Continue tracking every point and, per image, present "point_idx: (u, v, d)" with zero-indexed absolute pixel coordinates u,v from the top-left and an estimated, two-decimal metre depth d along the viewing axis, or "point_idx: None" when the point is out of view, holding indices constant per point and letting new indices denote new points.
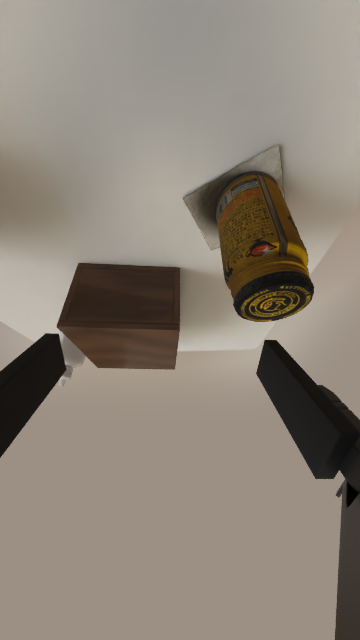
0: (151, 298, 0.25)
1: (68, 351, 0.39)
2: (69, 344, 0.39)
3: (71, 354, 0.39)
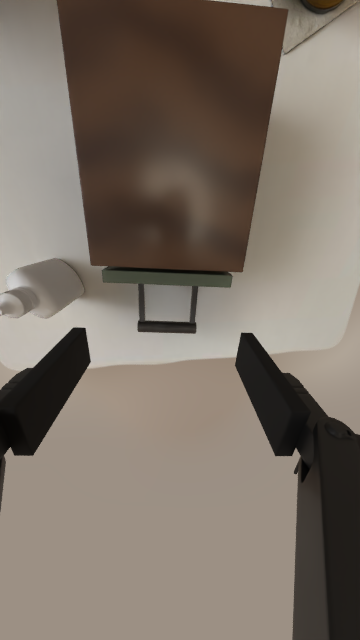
0: None
1: (39, 273, 0.21)
2: (46, 269, 0.23)
3: (44, 279, 0.21)
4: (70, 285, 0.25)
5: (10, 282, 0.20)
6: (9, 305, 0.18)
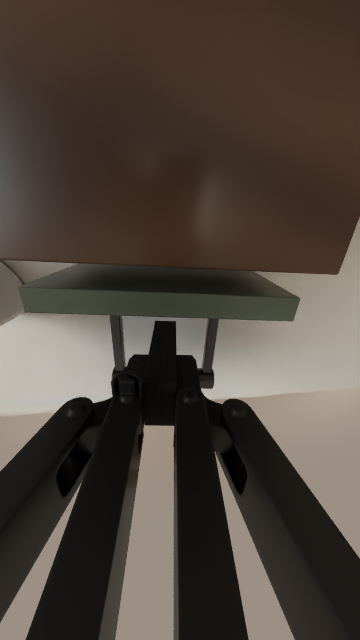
0: None
1: None
2: None
3: None
4: None
5: None
6: None
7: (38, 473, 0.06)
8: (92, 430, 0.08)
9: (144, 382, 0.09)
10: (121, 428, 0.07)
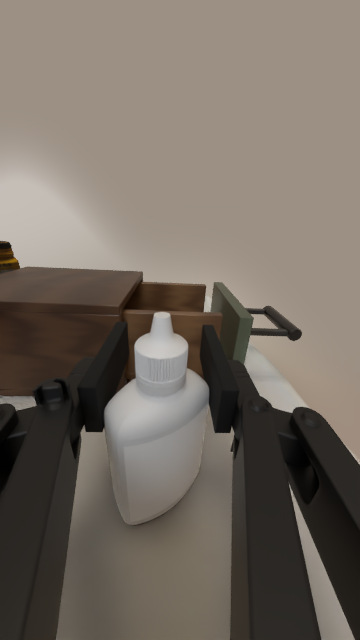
0: None
1: None
2: None
3: None
4: None
5: (126, 408, 0.09)
6: None
7: None
8: (10, 439, 0.07)
9: (77, 387, 0.08)
10: (48, 436, 0.07)
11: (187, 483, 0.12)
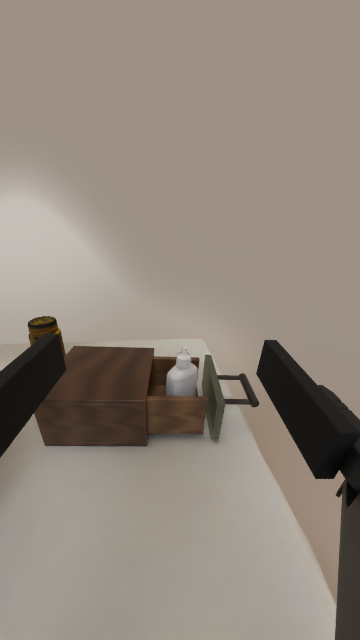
0: None
1: None
2: None
3: None
4: None
5: (174, 373, 0.33)
6: (182, 351, 0.33)
7: None
8: None
9: None
10: None
11: None
